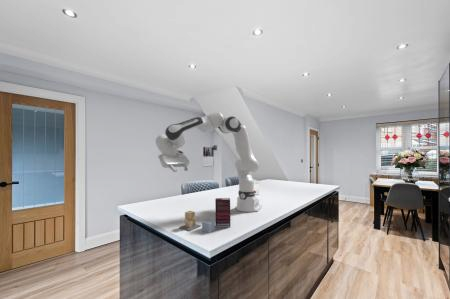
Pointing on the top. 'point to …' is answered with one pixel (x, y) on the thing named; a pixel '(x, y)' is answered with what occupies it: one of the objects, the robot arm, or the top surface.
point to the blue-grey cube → (208, 226)
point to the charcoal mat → (190, 228)
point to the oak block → (189, 219)
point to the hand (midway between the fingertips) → (181, 170)
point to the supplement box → (222, 212)
